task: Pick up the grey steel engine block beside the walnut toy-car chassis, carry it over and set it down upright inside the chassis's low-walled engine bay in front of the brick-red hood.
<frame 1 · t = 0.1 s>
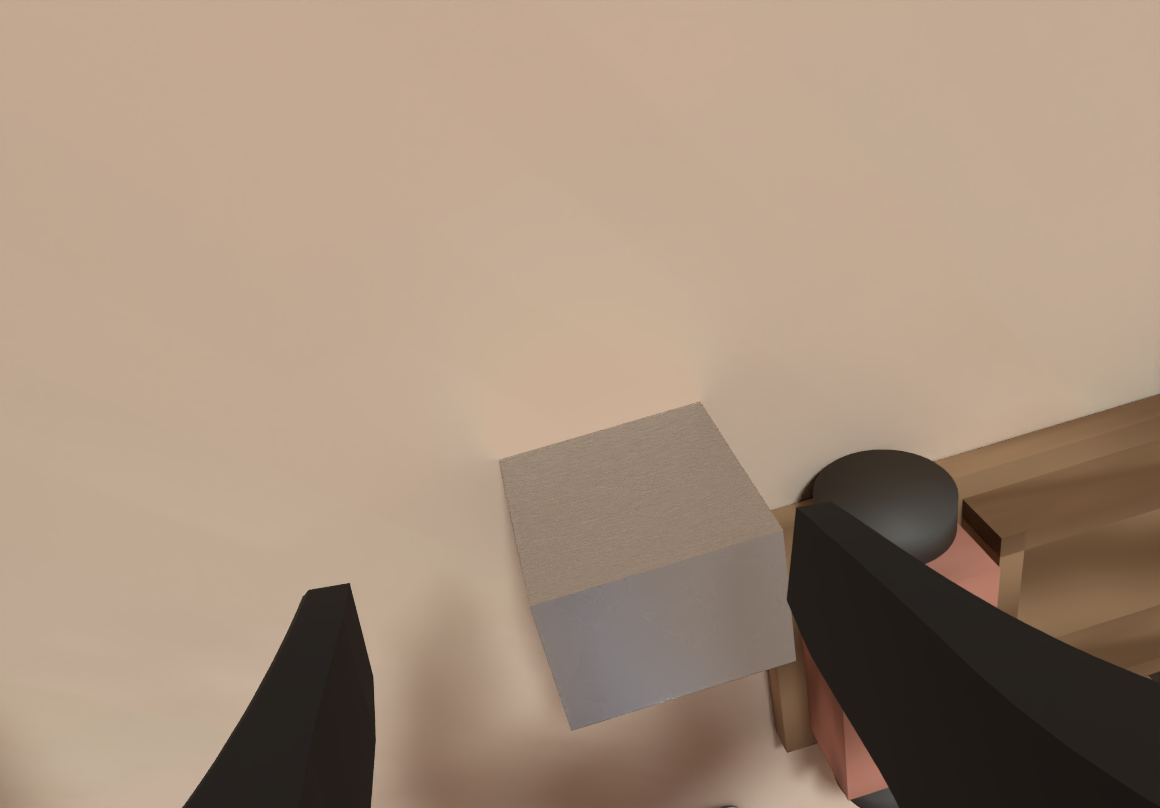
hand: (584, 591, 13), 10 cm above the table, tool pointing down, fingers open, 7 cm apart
chassis: (1026, 553, 30), on the table
engine block: (614, 490, 25), on the table
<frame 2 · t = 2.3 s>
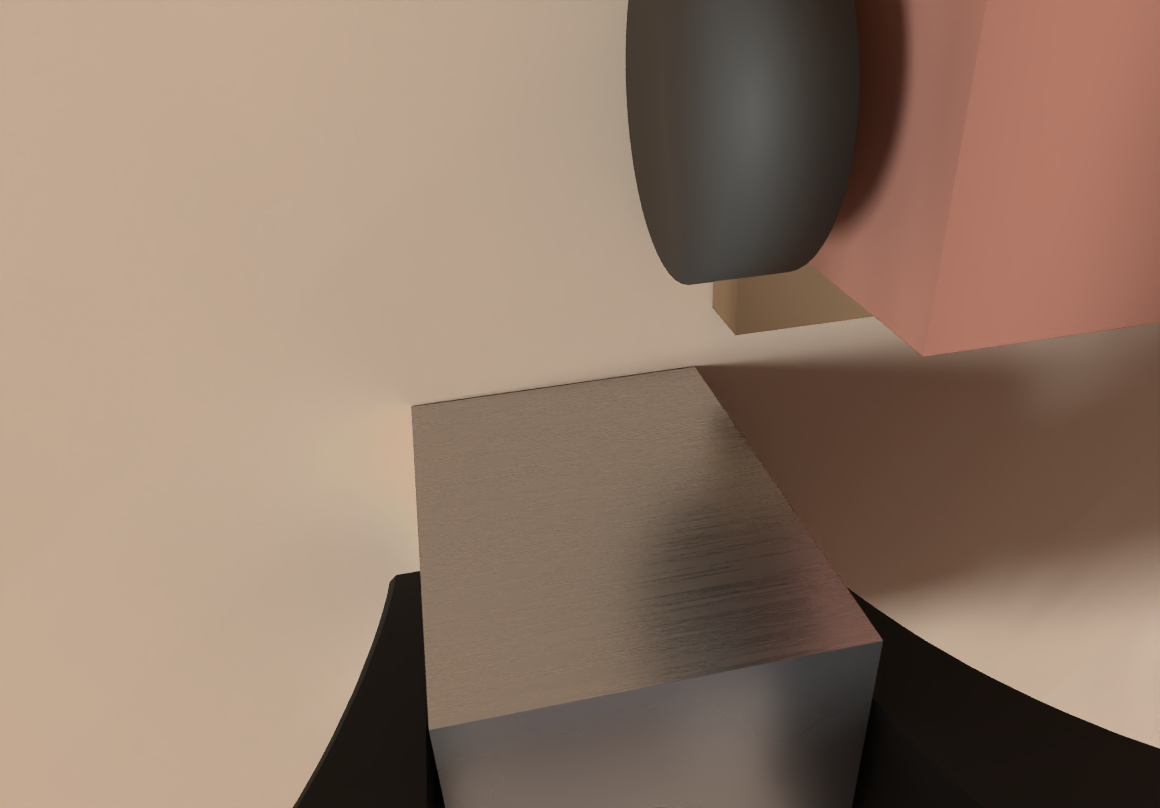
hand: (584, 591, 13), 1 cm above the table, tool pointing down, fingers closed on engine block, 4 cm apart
engine block: (567, 535, 15), on the table, touching gripper
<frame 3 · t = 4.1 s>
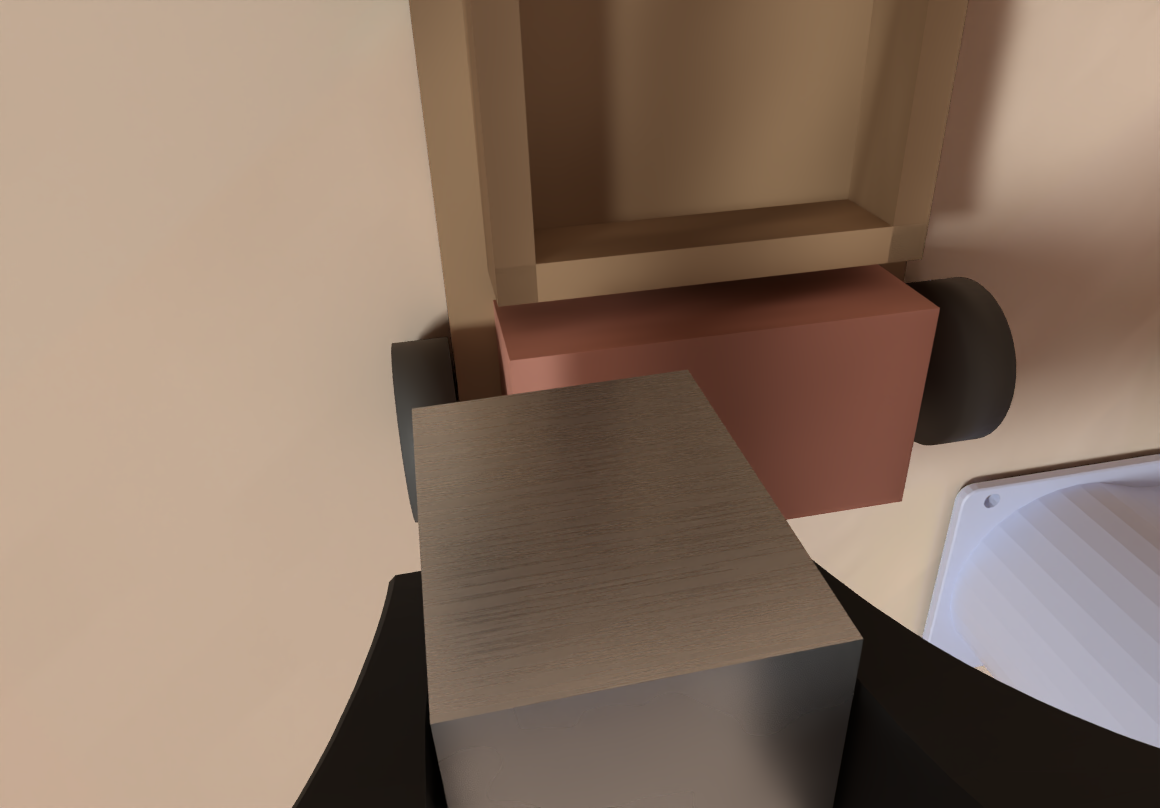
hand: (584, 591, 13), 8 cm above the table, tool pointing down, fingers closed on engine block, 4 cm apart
chassis: (679, 87, 18), on the table
engine block: (563, 533, 15), point 7 cm above the table, touching gripper
when the fingers open (4 cm above the table, at t = 6.4 s): engine block drops 1 cm, resting on chassis.
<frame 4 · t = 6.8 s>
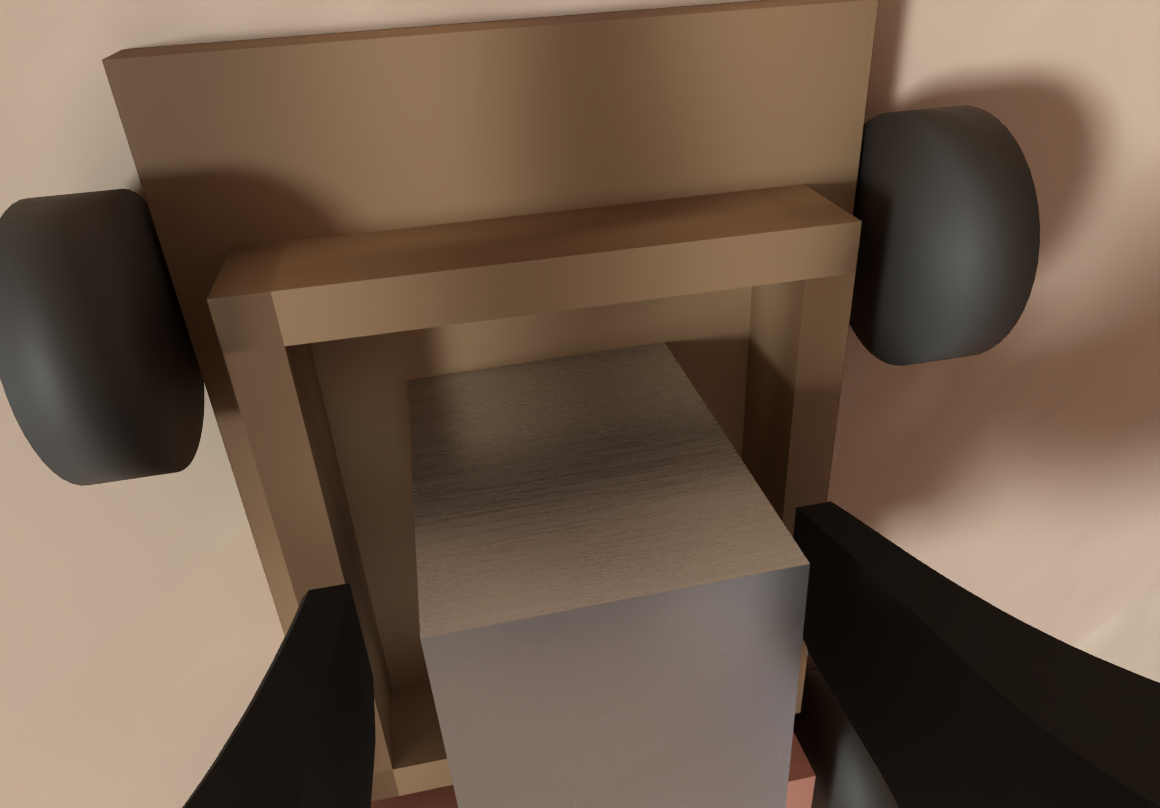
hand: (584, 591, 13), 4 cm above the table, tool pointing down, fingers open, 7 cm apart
chassis: (551, 536, 18), on the table
engine block: (552, 499, 16), point 1 cm above the table, touching chassis
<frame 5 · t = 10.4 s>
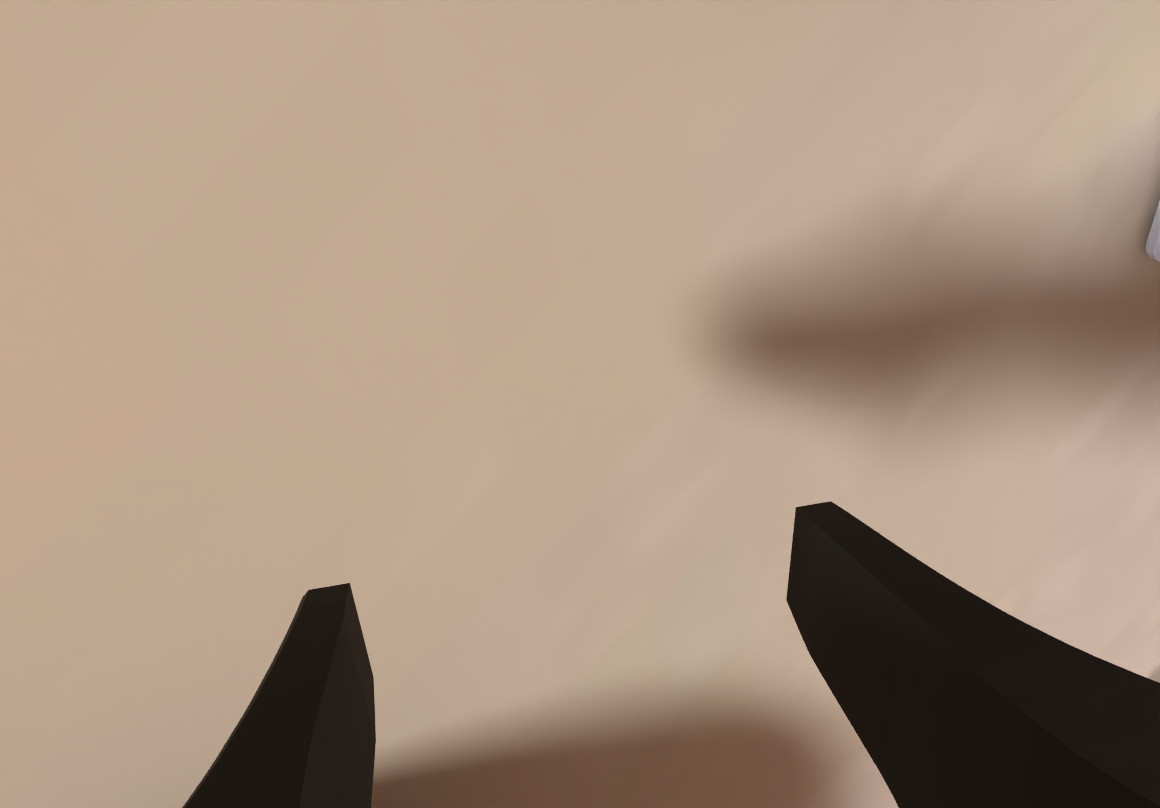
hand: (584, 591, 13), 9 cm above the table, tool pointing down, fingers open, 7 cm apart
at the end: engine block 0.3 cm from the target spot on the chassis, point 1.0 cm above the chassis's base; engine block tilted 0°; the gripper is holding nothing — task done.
